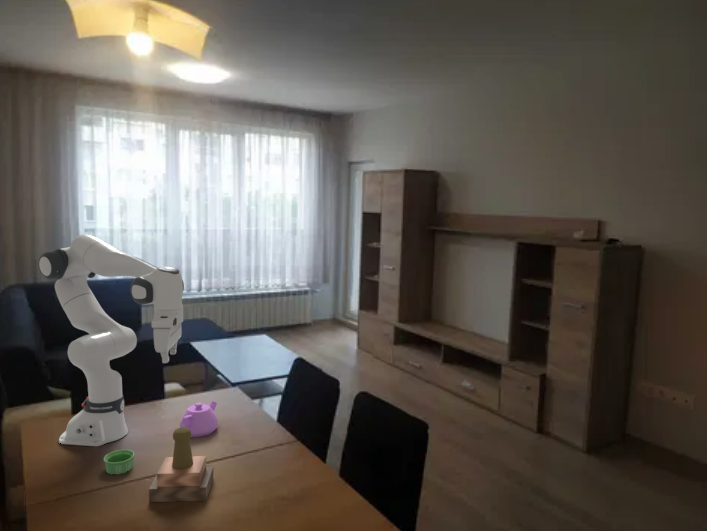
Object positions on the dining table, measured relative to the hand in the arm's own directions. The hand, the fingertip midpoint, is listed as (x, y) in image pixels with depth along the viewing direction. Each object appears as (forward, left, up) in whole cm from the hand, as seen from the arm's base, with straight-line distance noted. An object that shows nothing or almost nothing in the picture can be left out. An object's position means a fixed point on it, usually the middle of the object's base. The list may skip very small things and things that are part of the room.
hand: (169, 358), depth 167 cm
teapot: (+5, +23, -35) cm, 42 cm away
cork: (+8, -19, -27) cm, 34 cm away
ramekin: (-15, -5, -35) cm, 39 cm away
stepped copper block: (+8, -19, -35) cm, 41 cm away
